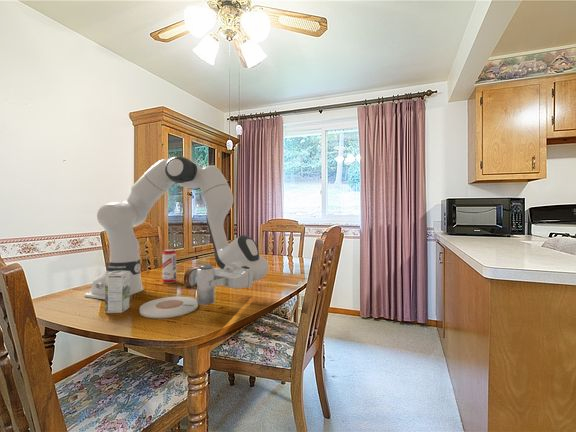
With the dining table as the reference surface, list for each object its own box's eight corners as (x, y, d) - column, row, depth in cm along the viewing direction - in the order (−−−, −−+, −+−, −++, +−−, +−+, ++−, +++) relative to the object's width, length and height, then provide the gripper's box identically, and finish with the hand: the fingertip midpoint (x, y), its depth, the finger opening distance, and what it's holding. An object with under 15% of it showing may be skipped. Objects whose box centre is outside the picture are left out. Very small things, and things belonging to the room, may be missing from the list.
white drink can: (194, 304, 96) (193, 266, 95) (201, 298, 101) (201, 263, 101) (210, 305, 95) (210, 267, 94) (217, 299, 100) (217, 263, 100)
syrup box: (113, 311, 107) (112, 270, 106) (130, 310, 107) (129, 270, 107) (104, 316, 101) (104, 274, 101) (123, 316, 102) (122, 273, 101)
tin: (199, 280, 151) (199, 264, 151) (204, 281, 151) (204, 264, 150) (183, 288, 136) (182, 270, 136) (189, 289, 136) (189, 270, 136)
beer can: (171, 284, 144) (171, 251, 143) (160, 283, 145) (159, 250, 145) (179, 281, 150) (178, 249, 150) (167, 280, 151) (167, 248, 151)
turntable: (126, 316, 98) (126, 311, 98) (160, 299, 116) (160, 294, 116) (181, 319, 95) (181, 314, 95) (206, 301, 113) (206, 297, 113)
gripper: (214, 262, 114) (183, 268, 103) (255, 269, 102) (225, 276, 91) (215, 279, 114) (183, 286, 103) (255, 287, 103) (225, 297, 91)
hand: (203, 282), depth 97 cm, fingers closed on white drink can, 5 cm apart
